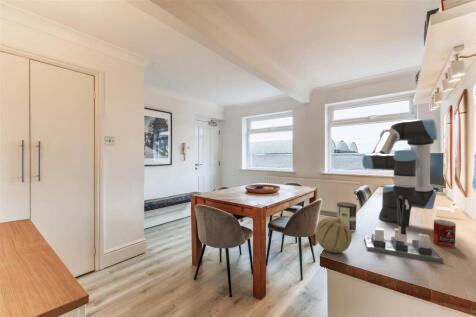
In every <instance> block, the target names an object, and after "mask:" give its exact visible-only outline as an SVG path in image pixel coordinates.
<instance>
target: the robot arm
mask: <svg viewBox="0 0 476 317" xmlns="http://www.w3.org/2000/svg"><path fill="white" fill-rule="evenodd" d="M436 140H438V130H437V124H436V122H435V120H434V119H431V118H429V119H427V118H425V119H424V118H422V119H412V120H411V119H410V120H399V121H396V122H393V123H391V124H390V125H388V126H386V127H384V128H383V129H382V131H381V132H380V134H379V140H378V141H377V143H376V145H375V146H374V149H373V150H372V152H371V153H366V154H363V157H362V160H361V161H362V166H363V168H364V169H369V170H385V171H393V177H392V178H391V180H393V184H387V185H386V184H385V185H384V186H383V187H382V201H381V203H382V204H381V209H380V211H379V214H378V220H381V221H383V222H387V223H393V224H397V226H398V228H397V229H398V240H399V241H402V242H408V227H410V219H411V210H412V208H417V209H418V208H419V209H422V210H432V209H433V208H434V207H435V201H436V196H437V190H435V189H434V186H432V185H431V146H433V144H434V141H436ZM404 141H405V142H407V145H408V146H410V149H396V150H395V151H394V154H393V153H392V154H391V152H392V150H393V148H394V146H395V143H398V142H404Z"/></svg>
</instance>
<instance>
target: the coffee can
mask: <svg viewBox="0 0 476 317" xmlns="http://www.w3.org/2000/svg"><path fill="white" fill-rule="evenodd" d="M357 206H358V205H357V204H355V203H352V202H345V201H343V202H341V201H339V202H336V218H338V219H341V220H342V221H344V222H345V223H346V224H347V225H348V227H349V228H350V230H351V232H355V231H356V230H357V208H358V207H357Z"/></svg>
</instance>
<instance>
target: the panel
mask: <svg viewBox="0 0 476 317" xmlns="http://www.w3.org/2000/svg"><path fill="white" fill-rule="evenodd" d="M384 237H385V229H384V228H380V227H375V228H374V233H371V236H369V235H368V236H367V235H364V238H363V240H364V242H365V247H366V250H367V251H371V252H376V253H382V254H386V255H387V254H388V255H395V256H398V257H399V256H400V257H405V258H410V259H417V260H422V261H423V260H424V261H426V262H427V261H429V262H432V263H433V262H434V263H439V264H444V259H443V257H442V256H441V255H440V254H439V253H438V252H437V251H436V250H435V249H434V248H433V247H432V246H431V245H430V242H431V240H430V239H431V237H430V235H429V234H427V233H418V239H412V240H411V242H408V241H407V242H402V241H396V240H395V236H391V237H390V239H388V238H384Z"/></svg>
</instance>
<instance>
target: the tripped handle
mask: <svg viewBox="0 0 476 317" xmlns="http://www.w3.org/2000/svg"><path fill="white" fill-rule="evenodd" d="M394 237H395V240H396V241H399V240H398V228H394Z"/></svg>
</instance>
